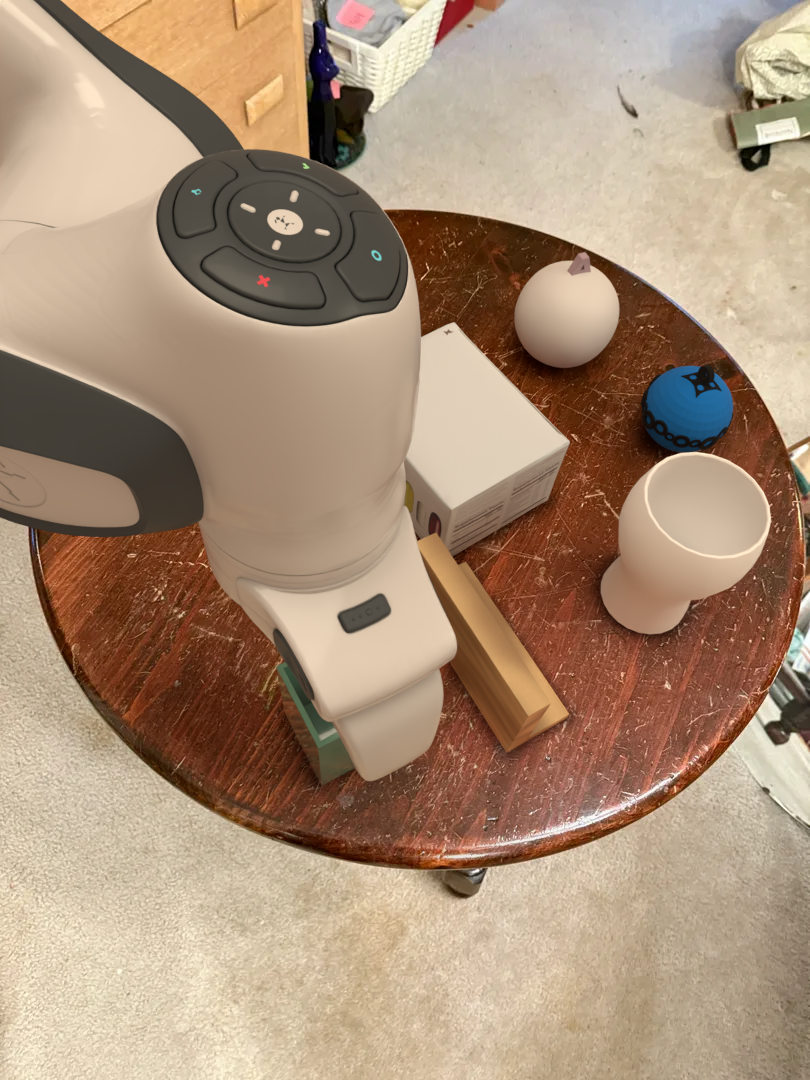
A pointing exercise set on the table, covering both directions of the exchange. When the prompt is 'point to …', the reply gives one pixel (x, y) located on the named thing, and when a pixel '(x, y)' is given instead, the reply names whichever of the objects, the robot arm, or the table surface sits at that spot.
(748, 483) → the cup
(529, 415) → the supplement box
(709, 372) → the ornament
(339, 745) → the green rectangular container
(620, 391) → the table surface
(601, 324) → the ornament
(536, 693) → the stepped wooden molding
